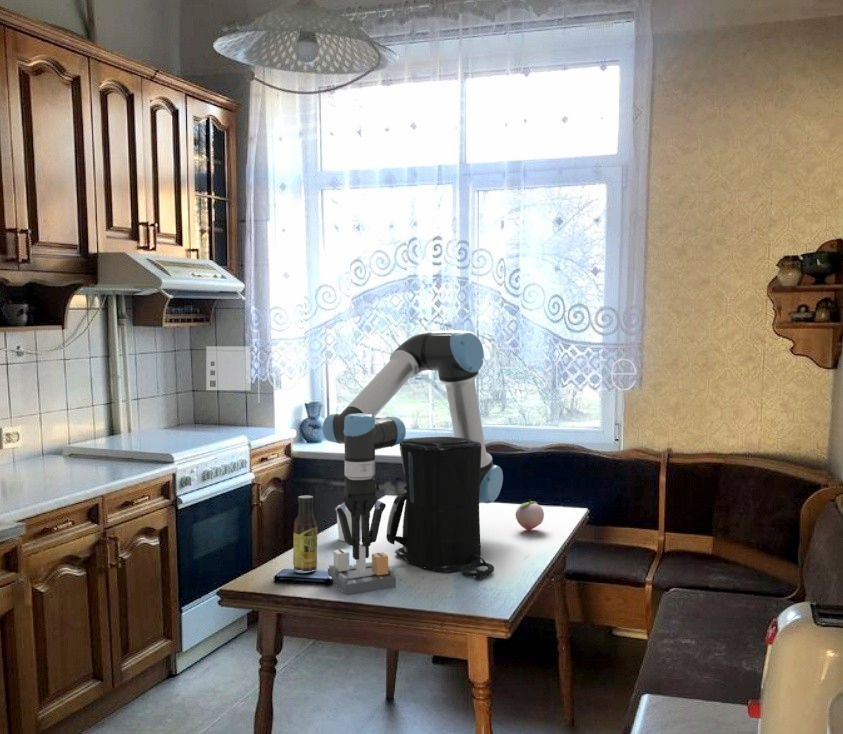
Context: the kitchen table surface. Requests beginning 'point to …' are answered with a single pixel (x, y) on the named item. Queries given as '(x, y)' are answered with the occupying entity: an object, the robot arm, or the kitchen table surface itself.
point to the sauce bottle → (305, 536)
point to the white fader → (341, 560)
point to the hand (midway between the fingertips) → (360, 571)
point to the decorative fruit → (529, 515)
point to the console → (361, 579)
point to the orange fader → (380, 563)
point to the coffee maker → (440, 505)
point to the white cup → (348, 524)
